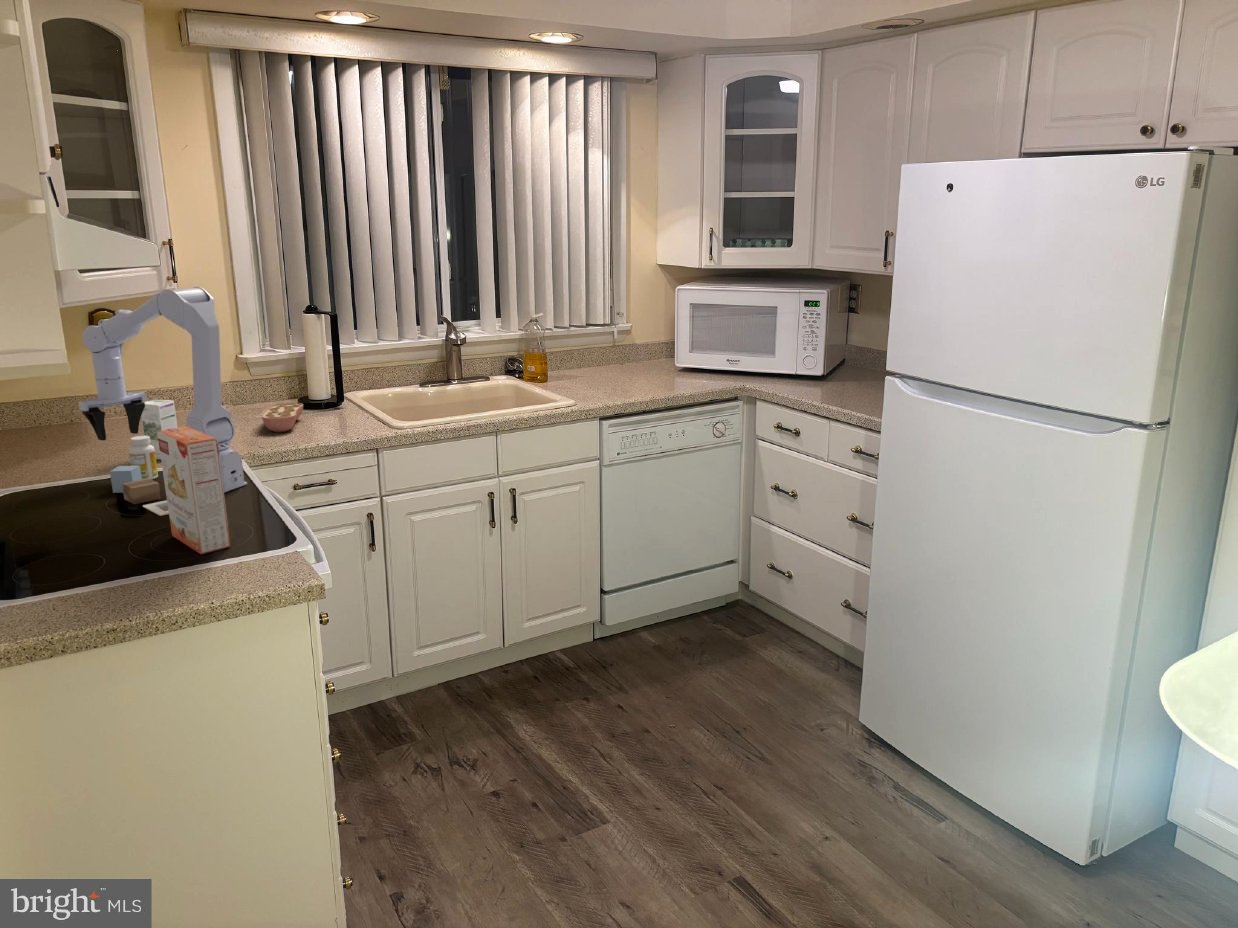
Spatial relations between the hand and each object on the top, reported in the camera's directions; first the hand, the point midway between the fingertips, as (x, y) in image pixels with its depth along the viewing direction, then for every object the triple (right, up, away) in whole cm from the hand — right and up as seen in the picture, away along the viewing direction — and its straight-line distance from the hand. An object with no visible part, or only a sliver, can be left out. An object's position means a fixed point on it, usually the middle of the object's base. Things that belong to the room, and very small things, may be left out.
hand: (118, 436), depth 214 cm
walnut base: (+13, -14, -14) cm, 23 cm away
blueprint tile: (+21, -16, -20) cm, 33 cm away
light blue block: (+6, -12, -7) cm, 15 cm away
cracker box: (+37, -21, -41) cm, 59 cm away
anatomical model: (+18, +4, +55) cm, 58 cm away
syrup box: (+1, -5, +20) cm, 21 cm away
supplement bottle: (+5, -10, +2) cm, 11 cm away
